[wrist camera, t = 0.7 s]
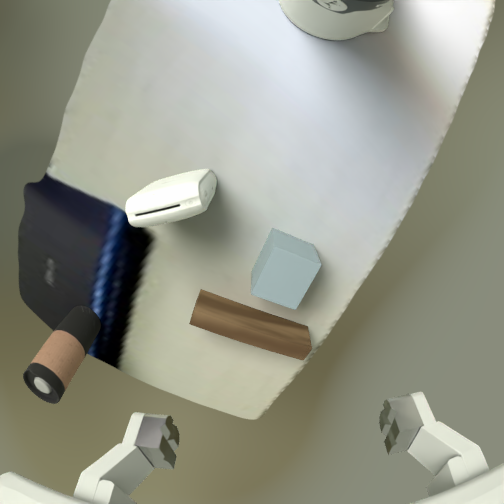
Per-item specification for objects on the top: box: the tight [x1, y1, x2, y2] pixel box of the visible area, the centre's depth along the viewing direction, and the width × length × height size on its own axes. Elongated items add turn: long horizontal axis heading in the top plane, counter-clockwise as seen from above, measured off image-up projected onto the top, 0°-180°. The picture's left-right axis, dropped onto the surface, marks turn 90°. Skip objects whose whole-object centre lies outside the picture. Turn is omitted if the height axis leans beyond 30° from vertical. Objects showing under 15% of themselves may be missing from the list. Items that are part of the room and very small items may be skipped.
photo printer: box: [126, 169, 217, 227], centre depth 38 cm, size 10×4×12 cm, turn 101°
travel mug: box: [23, 306, 101, 404], centre depth 46 cm, size 8×8×20 cm
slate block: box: [251, 228, 321, 310], centre depth 45 cm, size 8×7×7 cm
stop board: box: [189, 290, 312, 360], centre depth 50 cm, size 3×20×6 cm, turn 68°
